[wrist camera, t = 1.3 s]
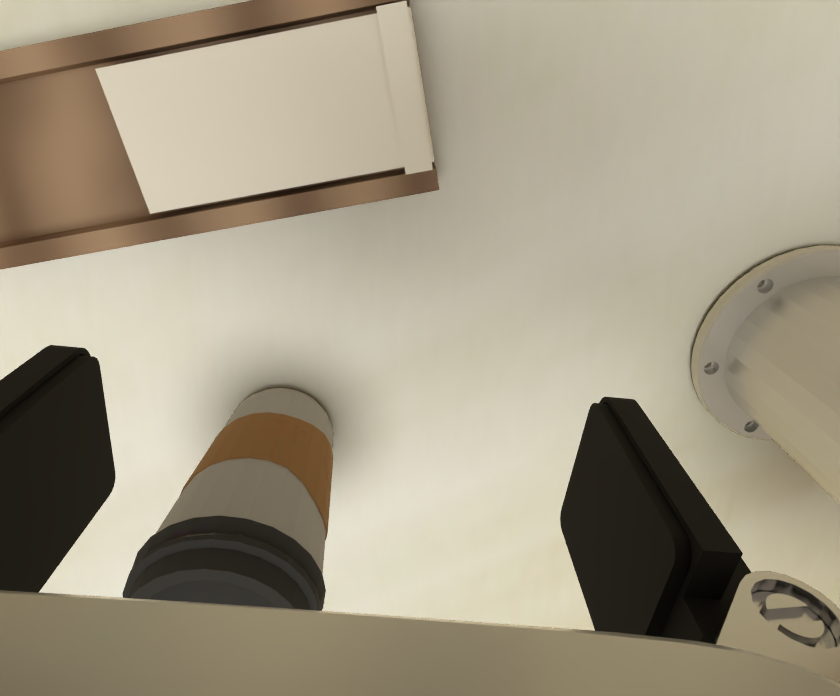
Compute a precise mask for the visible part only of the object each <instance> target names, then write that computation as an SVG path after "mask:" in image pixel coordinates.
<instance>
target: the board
mask: <svg viewBox="0 0 840 696" xmlns="http://www.w3.org/2000/svg"><path fill="white" fill-rule="evenodd" d="M402 1H407V7H410V6H409V0H252V1H247V2H242V3H237V4H232V5H227V6H222V7H217V8H212V9H207V10H202V11H197V12H192V13H188V14H183V15H178V16H173V17H168V18H163V19H158V20H153V21H148V22H143V23H138V24H133V25H128V26H123V27H118V28H113V29H108V30H103V31H98V32H93V33H88V34H83V35H78V36H73V37H68V38H63V39H58V40H53V41H48V42H43V43H38V44H33V45H28V46H23V47H18V48H13V49H8V50H4V51H0V269H5V268H11V267H17V266H22V265H28V264H33V263H39V262H44V261H50V260H55V259H61V258H66V257H72V256H77V255H83V254H88V253H94V252H99V251H105V250H110V249H116V248H121V247H127V246H132V245H138V244H143V243H149V242H154V241H160V240H165V239H171V238H177V237H182V236H188V235H193V234H199V233H204V232H210V231H215V230H221V229H226V228H232V227H237V226H243V225H248V224H254V223H259V222H265V221H270V220H276V219H281V218H287V217H292V216H298V215H303V214H309V213H314V212H320V211H325V210H331V209H337V208H342V207H348V206H353V205H359V204H364V203H370V202H375V201H381V200H386V199H392V198H397V197H403V196H408V195H414V194H419V193H425V192H430V191H436V190H439V186H438V179H437V173H436V168H435V165H434V162H432V167H433V170H429V171H423V172H418V173H412V174H407V175H406V173H405V167H402V168H396V169H391V170H386V171H380V172H375V173H369V174H364V175H358V176H353V177H347V178H342V179H337V180H331V181H326V182H320V183H315V184H309V185H304V186H299V187H293V188H288V189H282V190H277V191H271V192H266V193H260V194H255V195H250V196H244V197H239V198H233V199H228V200H222V201H217V202H211V203H206V204H201V205H195V206H190V207H184V208H179V209H173V210H168V211H163V212H157V213H152V214H150V212H149V209H148V207H147V204H146V202H145V199H144V196H143V194H142V191H141V188H140V186H139V183H138V180H137V178H136V175H135V173H134V170H133V167H132V165H131V162H130V159H129V157H128V154H127V152H126V149H125V146H124V144H123V141H122V138H121V136H120V133H119V130H118V128H117V125H116V123H115V120H114V117H113V115H112V112H111V109H110V107H109V104H108V101H107V99H106V96H105V94H104V91H103V88H102V86H101V83H100V80H99V78H98V75H97V72H96V70H95V69H97V68H102V67H107V66H112V65H117V64H122V63H127V62H132V61H138V60H143V59H148V58H153V57H158V56H163V55H168V54H173V53H178V52H183V51H188V50H193V49H198V48H203V47H208V46H213V45H218V44H224V43H229V42H234V41H239V40H244V39H249V38H254V37H259V36H264V35H269V34H274V33H279V32H284V31H289V30H294V29H299V28H304V27H309V26H315V25H320V24H325V23H330V22H335V21H340V20H345V19H350V18H355V17H360V16H365V15H370V14H375V13H377V10H376V6H381V5H386V4H391V3H397V2H402Z"/></svg>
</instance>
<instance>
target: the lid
mask: <svg viewBox="0 0 840 696" xmlns="http://www.w3.org/2000/svg"><path fill="white" fill-rule="evenodd" d="M376 10H377V13H375V14H370V15H365V16H360V17H355V18H350V19H345V20H340V21H335V22H330V23H325V24H320V25H315V26H309V27H304V28H299V29H294V30H289V31H284V32H279V33H274V34H269V35H264V36H259V37H254V38H249V39H244V40H239V41H234V42H229V43H224V44H218V45H213V46H208V47H203V48H198V49H193V50H188V51H183V52H178V53H173V54H168V55H163V56H158V57H153V58H148V59H143V60H138V61H132V62H127V63H122V64H117V65H112V66H107V67H102V68H97V69H95V70H96V72H97V75H98V78H99V80H100V83H101V86H102V88H103V91H104V94H105V96H106V99H107V101H108V104H109V107H110V109H111V112H112V115H113V117H114V120H115V123H116V125H117V128H118V130H119V133H120V136H121V138H122V141H123V144H124V146H125V149H126V152H127V154H128V157H129V159H130V162H131V165H132V167H133V170H134V173H135V175H136V178H137V180H138V183H139V186H140V188H141V191H142V194H143V196H144V199H145V202H146V204H147V207H148V209H149V212H150V214H152V213H157V212H163V211H168V210H173V209H179V208H184V207H190V206H195V205H201V204H206V203H211V202H217V201H222V200H228V199H233V198H239V197H244V196H250V195H255V194H260V193H266V192H271V191H277V190H282V189H288V188H293V187H299V186H304V185H309V184H315V183H320V182H326V181H331V180H337V179H342V178H347V177H353V176H358V175H364V174H369V173H375V172H380V171H386V170H391V169H396V168H402V167H405V173H406V175H407V174H412V173H418V172H423V171H429V170H433V167H432V162H435V161H434V154H433V148H432V141H431V135H430V128H429V122H428V115H427V109H426V102H425V96H424V89H423V83H422V76H421V70H420V63H419V57H418V51H417V44H416V38H415V31H414V25H413V18H412V12H411V7H407V1H402V2H397V3H391V4H386V5H381V6H376Z"/></svg>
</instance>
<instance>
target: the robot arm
mask: <svg viewBox="0 0 840 696" xmlns="http://www.w3.org/2000/svg"><path fill="white" fill-rule="evenodd" d="M691 372H692V379H693V385H694V388H695V390H696V393H697V395H698V398H699V399H700V401H701V402H702V404H703V405H704V406H705V408H706V409H707V411H708V412H709V413H710V414H711V415H712V416H713V417H714V418H715V419H716V420H717V421H718V422H719V423H721V424H722V425H724V426H725V427H727V428H728V429H730V430H731V431H733V432H736V433H738V434H740V435H743V436H746V437H751V438H756V439H762V440H774V441H775V442H776V443H777V444H778V445H779V446H780V447H781V448H782V449H783V450H784V451H786V452H787V453H788V454H789V455H790V456H791V457H792V458H793V459H794V460H795V461H796V462H797V463H798V464H799V465H800V466H801V467H802V468H803V469H804V470H805V471H806V472H807V473H808V474H809V475H810V476H811V477H812V478H813V479H814V480H815V481H816V482H817V483H818V484H819V485H820V486H821V487H822V488H823V489H824V490H825V491H826V492H827V493H828V494H829V495H830V496H831V497H833V498H834V499H835V500H836V501H837V502H838V503H839V504H840V246H831V245H818V246H813V247H807V248H801V249H796V250H793V251H791V252H788V253H785V254H782V255H779V256H776V257H774V258H772V259H770V260H768V261H766V262H765V263H763V264H761V265H759V266H757V267H755V268H754V269H752V270H751V271H750V272H748V273H747V274H746V275H744V276H743V277H741V278H740V279H739V280H737V281H736V282H735V283H734V284H733V285H732V286H731V287H730V288H729V289H728V290H727V291H726V292H725V293H724V294H723V295H722V296H721V297H720V298H719V299H718V301H717V302H716V304H715V305H714V306H713V308H712V309H711V310H710V312H709V313H708V314H707V316H706V318H705V320H704V322H703V324H702V326H701V328H700V330H699V332H698V335H697V338H696V341H695V344H694V348H693V352H692V363H691ZM114 483H115V468H114V461H113V454H112V448H111V441H110V434H109V427H108V420H107V413H106V406H105V399H104V392H103V385H102V378H101V371H100V365H99V361H98V360H97V358H95V357H91V356H90V354H89V352H88V351H87V350H86V349H85V348H77V347H66V346H56V345H50V346H47V347H46V348H44V349H43V350H41V351H40V352H39V353H37V354H36V355H35V356H33V357H32V358H30V359H29V360H28V361H26V362H25V363H24V364H22V365H21V366H19V367H18V368H17V369H15V370H14V371H13V372H11V373H10V374H8V375H7V376H6V377H4V378H3V379H2V380H0V696H840V609H839V608H838V607H837V606H836V605H835V604H834V603H833V602H832V601H830V600H829V599H828V598H827V597H826V596H824V595H823V594H822V593H821V592H819V591H817V590H816V589H814V588H812V587H811V586H809V585H807V584H806V583H804V582H802V581H799V580H797V579H794V578H792V577H790V576H787V575H784V574H780V573H776V572H771V571H755V572H752V573H751V571H750V570H749V568H748V567H747V565H746V564H745V562H744V561H743V560H742V558H741V556H742V554H743V553H742V552H741V550H740V549H739V547H738V546H737V544H736V543H735V542H734V540H733V539H732V537H731V536H730V534H729V533H728V532H727V530H726V529H725V527H724V526H723V524H722V523H721V522H720V520H719V519H718V517H717V516H716V514H715V513H714V512H713V510H712V509H711V507H710V506H709V504H708V503H707V502H706V500H705V499H704V497H703V496H702V494H701V493H700V492H699V490H698V489H697V487H696V486H695V484H694V483H693V481H692V480H691V479H690V477H689V476H688V474H687V473H686V471H685V470H684V469H683V467H682V466H681V464H680V463H679V461H678V460H677V459H676V457H675V456H674V454H673V453H672V451H671V450H670V449H669V447H668V446H667V444H666V443H665V441H664V440H663V439H662V437H661V436H660V434H659V433H658V431H657V430H656V429H655V427H654V426H653V424H652V423H651V421H650V420H649V419H648V417H647V416H646V414H645V413H644V411H643V410H642V409H641V407H640V406H639V404H638V403H637V402H636V401H635V400H633V399H624V398H613V397H604V398H602V400H601V401H600V403H593V404H592V405H591V407H590V410H589V413H588V417H587V420H586V424H585V427H584V431H583V434H582V438H581V442H580V445H579V449H578V452H577V456H576V459H575V463H574V467H573V470H572V474H571V477H570V481H569V484H568V488H567V491H566V495H565V499H564V502H563V506H562V510H561V517H560V522H561V529H562V532H563V535H564V538H565V541H566V544H567V547H568V550H569V553H570V556H571V559H572V562H573V565H574V568H575V571H576V574H577V577H578V580H579V583H580V586H581V589H582V592H583V595H584V598H585V601H586V604H587V607H588V610H589V613H590V616H591V619H592V622H593V625H594V628H595V631H591V630H577V629H564V628H551V627H537V626H524V625H510V624H497V623H483V622H470V621H456V620H443V619H429V618H415V617H402V616H388V615H374V614H359V613H345V612H331V611H316V610H302V609H287V608H272V607H257V606H242V605H228V604H213V603H198V602H182V601H166V600H150V599H134V598H118V597H102V596H86V595H70V594H54V593H38V592H39V591H40V590H41V588H42V587H43V586H44V584H45V583H46V582H47V580H48V579H49V577H50V576H51V575H52V573H53V572H54V571H55V569H56V568H57V566H58V565H59V564H60V562H61V561H62V560H63V558H64V557H65V555H66V554H67V553H68V551H69V550H70V549H71V547H72V546H73V544H74V543H75V542H76V540H77V539H78V538H79V536H80V535H81V534H82V532H83V531H84V529H85V528H86V527H87V525H88V524H89V523H90V521H91V520H92V518H93V517H94V516H95V514H96V513H97V512H98V510H99V509H100V507H101V506H102V505H103V503H104V502H105V501H106V499H107V498H108V496H109V495H110V493H111V492H112V489H113V487H114Z"/></svg>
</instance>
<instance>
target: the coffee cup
mask: <svg viewBox="0 0 840 696" xmlns="http://www.w3.org/2000/svg"><path fill="white" fill-rule="evenodd" d="M332 446H333V429H332V424H331V421H330V419H329V417H328V415H327V413H326V412H325V410H324V409H323V408H322V407H321V406H320V405H319V403H318V402H317V401H316V400H314V399H313V398H311V397H310V396H308V395H307V394H305V393H303V392H300V391H297V390H295V389H288V388H271V389H267V390H263V391H260V392H257V393H254V394H252V395H251V396H249V397H248V398H246V399H245V400H243V402H242V403H241V404H240V405H239V406H238V408H237V409H236V410H235V412H234V413H233V415H232V416H231V418H230V419H229V421H228V422H227V424H226V426H225V427H224V428H223V430H222V431H221V432H220V433H219V434H218V436H217V437H216V439H215V440H214V442H213V443H212V445H211V446H210V448H209V449H208V451H207V452H206V454H205V455H204V457H203V458H202V460H201V461H200V463H199V464H198V466H197V468H196V469H195V471H194V472H193V474H192V475H191V477H190V478H189V480H188V481H187V483H186V484H185V486H184V487H183V490H182V492H181V494H180V496H179V498H178V500H177V501H176V503H175V504H174V506H173V508H172V509H171V511H170V512H169V514H168V515H167V517H166V518H165V520H164V521H163V523H162V525H161V526H160V528H159V529H158V531H157V532H156V534H155V535H153V536H152V537H150V538H149V540H148V541H147V542H146V543H145V544H144V546H143V547H142V548H141V549H140V550H139V551H138V553H137V556H136V559H135V562H134V565H133V567H132V570H131V571H130V574H129V576H128V579H127V582H126V585H125V588H124V591H123V598H134V599H150V600H166V601H182V602H198V603H213V604H228V605H242V606H257V607H272V608H287V609H302V610H316V611H322V609H323V604H324V598H325V592H326V589H325V585H324V580H323V576H322V573H323V560H324V548H325V540H326V537H327V532H328V519H329V506H330V492H331V478H332V464H333V455H332Z"/></svg>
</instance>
